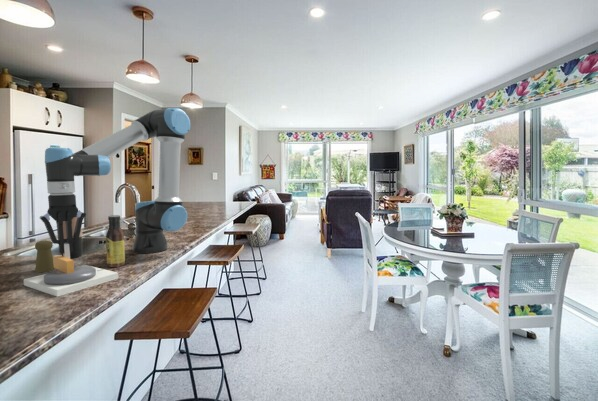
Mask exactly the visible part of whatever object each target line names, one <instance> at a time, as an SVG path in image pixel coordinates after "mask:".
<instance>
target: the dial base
mask: <svg viewBox="0 0 598 401" xmlns="http://www.w3.org/2000/svg"><path fill="white" fill-rule="evenodd" d="M76 267H93V268H95V269H96V275H95V276H94V277H92V278H90V279H87V280H84V281H80V282H76V283H70V284H60V285H52V284H46V283H44V275H46V274H47V273H44V274H41V275H36V276H32V277H27V278H23V286H25V287H27V288H31V289H33V290H37V291H39V292H42V293H45V294H48V295H51V296H54V297H61V296H64V295H68V294H72V293H74V292H77V291H81V290H84V289H88V288H91V287H95V286H97V285H100V284H104V283H108V282H110V281H114V280H117V279H119V272H116V271H112V270H109V269H105V268H99V267H96V266H92V265H88V264H82V265H78V266H76Z"/></svg>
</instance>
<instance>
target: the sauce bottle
mask: <svg viewBox="0 0 598 401" xmlns="http://www.w3.org/2000/svg"><path fill="white" fill-rule="evenodd" d="M107 220H108V229H107V232H106V235H105V245H106V246H105V247H106V263H107V267H109V268H119V267H123V266H124V265H125V264H126V262H125V261H126V250H125V249H126V248H125V245H126V244H125V233H124V231H123V228H121V215H119V214H114V215H109V216H108V217H107Z"/></svg>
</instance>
